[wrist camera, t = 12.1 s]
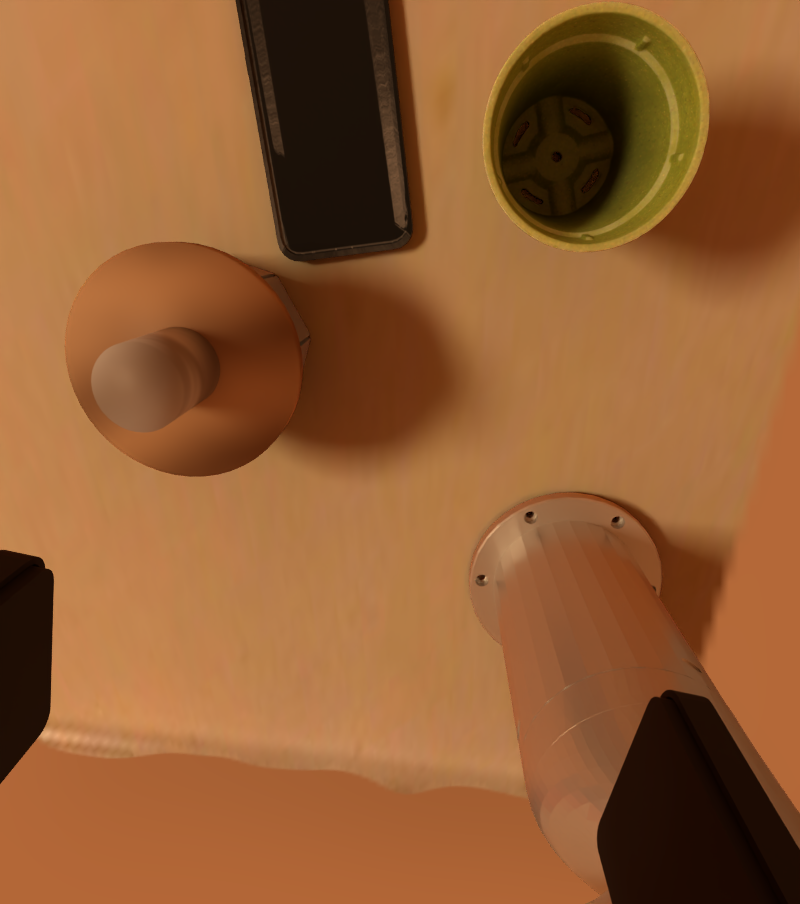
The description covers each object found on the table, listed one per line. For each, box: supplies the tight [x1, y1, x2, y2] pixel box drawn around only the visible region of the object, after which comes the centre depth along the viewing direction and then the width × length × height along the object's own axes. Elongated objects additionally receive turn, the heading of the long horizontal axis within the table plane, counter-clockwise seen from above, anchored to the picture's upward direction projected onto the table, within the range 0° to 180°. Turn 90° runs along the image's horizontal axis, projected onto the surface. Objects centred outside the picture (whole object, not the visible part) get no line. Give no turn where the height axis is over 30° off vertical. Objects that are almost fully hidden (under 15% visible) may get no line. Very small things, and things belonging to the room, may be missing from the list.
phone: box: [236, 0, 413, 261], centre depth 34 cm, size 8×1×15 cm
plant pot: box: [483, 2, 710, 252], centre depth 30 cm, size 9×9×9 cm
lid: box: [65, 242, 303, 476], centre depth 30 cm, size 12×12×6 cm
